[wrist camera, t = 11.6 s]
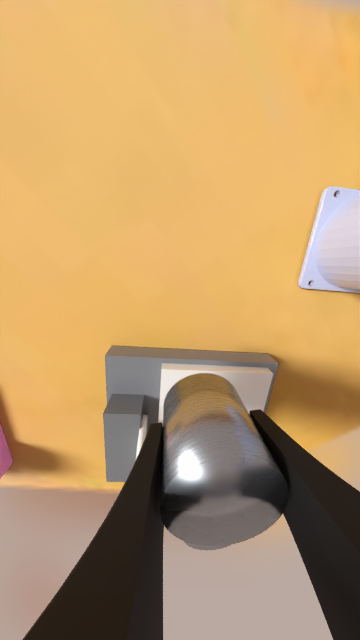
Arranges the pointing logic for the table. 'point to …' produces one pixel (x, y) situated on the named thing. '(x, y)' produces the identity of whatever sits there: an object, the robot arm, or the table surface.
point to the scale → (153, 385)
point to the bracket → (4, 454)
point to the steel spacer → (215, 466)
